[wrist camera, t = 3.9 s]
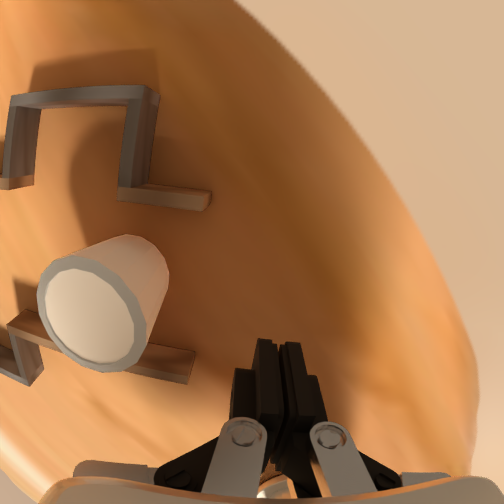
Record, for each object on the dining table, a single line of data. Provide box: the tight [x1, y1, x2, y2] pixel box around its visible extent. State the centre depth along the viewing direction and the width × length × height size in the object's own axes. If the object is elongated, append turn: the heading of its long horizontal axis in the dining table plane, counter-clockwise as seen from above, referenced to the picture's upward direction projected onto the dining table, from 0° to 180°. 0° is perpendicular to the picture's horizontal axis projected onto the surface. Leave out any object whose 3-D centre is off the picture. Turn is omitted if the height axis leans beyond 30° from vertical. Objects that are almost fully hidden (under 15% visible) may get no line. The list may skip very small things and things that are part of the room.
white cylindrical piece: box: [36, 234, 169, 373], centre depth 17 cm, size 7×7×7 cm
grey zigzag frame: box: [0, 85, 212, 387], centre depth 18 cm, size 32×24×4 cm
